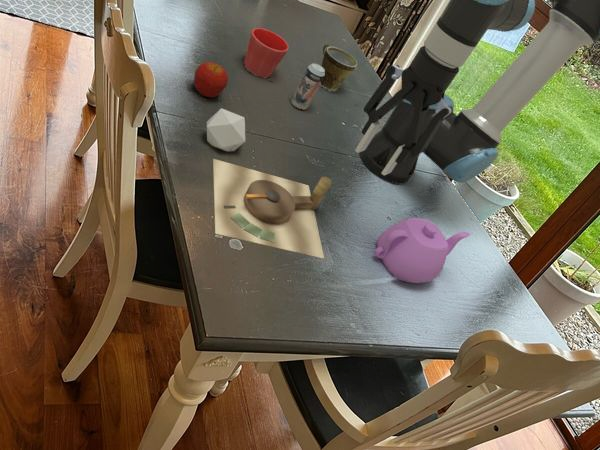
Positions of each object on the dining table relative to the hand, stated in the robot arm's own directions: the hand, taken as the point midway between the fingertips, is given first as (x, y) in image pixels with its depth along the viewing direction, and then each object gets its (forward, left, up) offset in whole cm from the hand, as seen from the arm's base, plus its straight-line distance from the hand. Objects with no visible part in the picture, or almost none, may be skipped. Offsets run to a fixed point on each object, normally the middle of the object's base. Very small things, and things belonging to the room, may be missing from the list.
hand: (373, 161), depth 110 cm
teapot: (-18, +5, -19) cm, 27 cm away
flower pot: (+11, -60, -19) cm, 64 cm away
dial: (+11, -2, -17) cm, 21 cm away
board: (+14, -1, -19) cm, 24 cm away
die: (+23, -19, -19) cm, 35 cm away
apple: (+26, -39, -19) cm, 51 cm away
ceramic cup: (-11, -67, -19) cm, 70 cm away
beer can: (0, -48, -19) cm, 51 cm away
